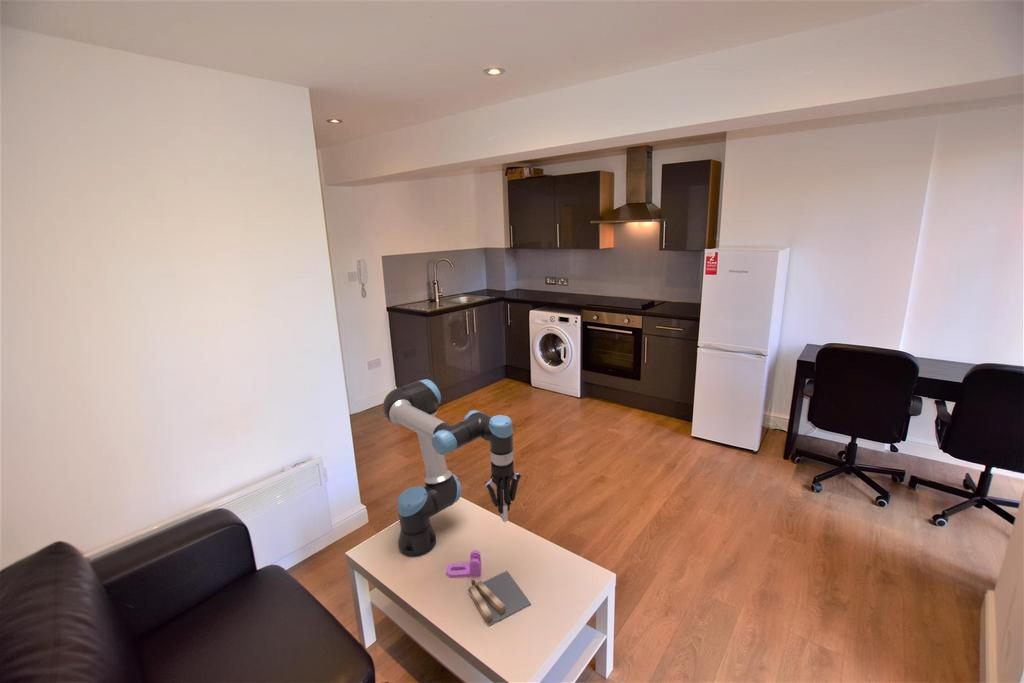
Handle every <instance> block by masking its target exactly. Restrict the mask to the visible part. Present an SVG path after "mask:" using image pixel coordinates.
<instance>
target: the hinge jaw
mask: <svg viewBox="0 0 1024 683" xmlns="http://www.w3.org/2000/svg"><path fill="white" fill-rule="evenodd" d="M482 582H483V581H481V580H479V581H477V582H476V589H477V590H478V591H479V593H480V594H481V595H482V596H483V597H484V598H485V599H486V600H487V601H488V602H489V603H490V604H491V605H492V606H493V607H494V608H495V609H496V610H497V611H498V612H499V613H500V614H503V613H504V612H505V611H506V610H505V605H504V604H503V603H502V602H501V601H500V600H499V599H498V598H497V597H496V596H495V595H494V594H493V593H492V592H491V591H490V590H489V589H488V588H487V587H486V586H485V585H484V584H483V583H482Z"/></svg>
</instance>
